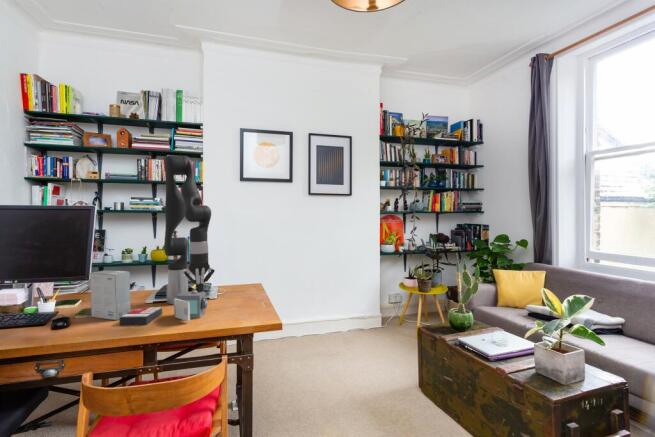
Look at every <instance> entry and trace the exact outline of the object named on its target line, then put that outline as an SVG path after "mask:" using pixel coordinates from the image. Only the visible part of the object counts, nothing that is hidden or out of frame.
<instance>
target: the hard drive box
mask: <svg viewBox="0 0 655 437" xmlns="http://www.w3.org/2000/svg"><path fill="white" fill-rule="evenodd" d="M130 275H131V271H126V270H125V271H124V270H107V269H105V270H99V271H94V272H90V273H89V280H90V282H89V284H90V311H91V312H90V313H91V317H92V318H97V319H105V320H112V321H113V320H114V321H117V320H120V317H121V316H123V315H125V314H127V313H128V312H131V311H132V310H131V307H132V306H131V282H130V281H131V278H130Z"/></svg>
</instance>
